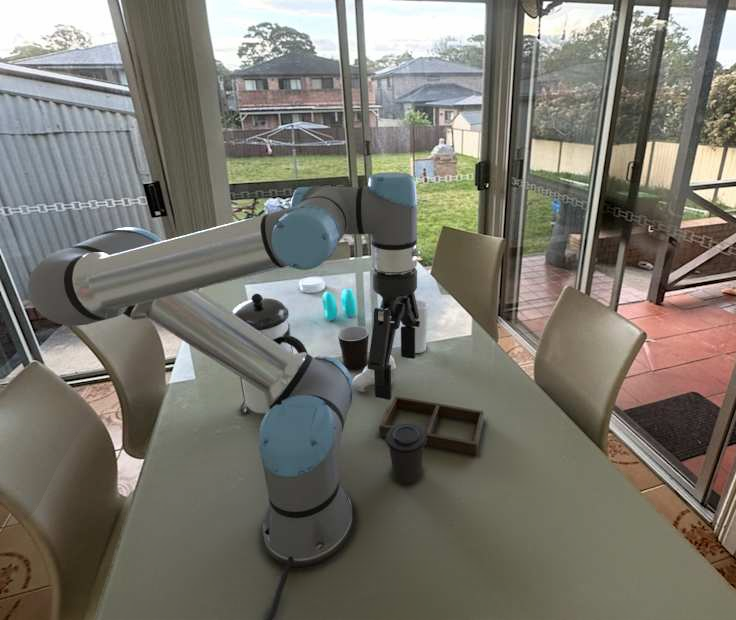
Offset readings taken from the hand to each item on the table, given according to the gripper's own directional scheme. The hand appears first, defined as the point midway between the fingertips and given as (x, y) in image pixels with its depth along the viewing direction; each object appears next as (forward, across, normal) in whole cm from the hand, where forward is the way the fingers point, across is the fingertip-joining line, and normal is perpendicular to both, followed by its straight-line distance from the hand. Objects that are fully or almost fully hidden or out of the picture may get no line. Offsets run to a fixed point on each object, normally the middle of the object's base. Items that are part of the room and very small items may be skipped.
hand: (396, 375), depth 81 cm
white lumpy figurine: (+22, +25, +16) cm, 37 cm away
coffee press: (+23, +11, +35) cm, 43 cm away
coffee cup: (+22, 0, -2) cm, 23 cm away
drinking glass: (+22, +46, +10) cm, 52 cm away
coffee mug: (+23, +35, +25) cm, 48 cm away
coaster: (+23, +80, +65) cm, 105 cm away
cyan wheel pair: (+23, +59, +43) cm, 77 cm away
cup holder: (+22, +14, -4) cm, 26 cm away
